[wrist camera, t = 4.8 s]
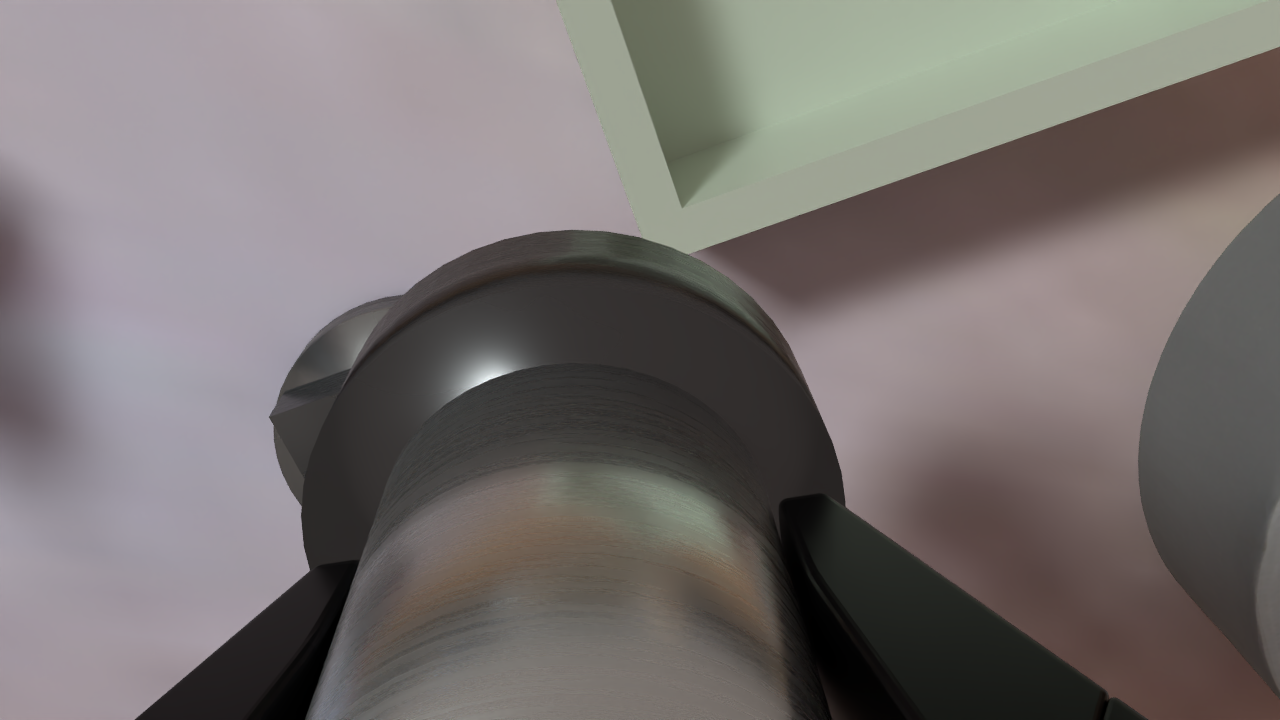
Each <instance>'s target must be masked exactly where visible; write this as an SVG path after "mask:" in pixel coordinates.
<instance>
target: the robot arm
mask: <svg viewBox="0 0 1280 720" xmlns="http://www.w3.org/2000/svg"><path fill="white" fill-rule="evenodd" d="M779 525H780V535H781V544H782V547H783V551H784V554H785V558H786V561H787V564H788V568H789V571H790V575H791V578H792V582H793V585H794V589H795V592H796V596H797V599H798V603H799V606H800V609H801V613H802V616H803V620H804V623H805V627H806V630H807V634H808V637H809V641H810V644H811V648H812V651H813V654H814V658H815V661H816V665H817V668H818V672H819V675H820V679H821V682H822V686H823V689H824V693H825V696H826V699H827V703H828V706H829V710H830V713H831V717H832V720H1148V719H1146V718H1145V717H1144V716H1142V715H1141V714H1139V713H1138V712H1137V711H1135V710H1134V709H1132V708H1131V707H1129V706H1128V705H1127V704H1125V703H1124V702H1122V701H1121V700H1119V699H1118V698H1114V697H1113V698H1110V699H1109V695H1108V692H1107V691H1106V690H1105V689H1103V688H1102V687H1100V686H1099V685H1097V684H1096V683H1095V682H1093V681H1092V680H1090V679H1089V678H1087V677H1086V676H1085V675H1083V674H1082V673H1080V672H1079V671H1078V670H1076V669H1075V668H1073V667H1072V666H1070V665H1069V664H1068V663H1066V662H1065V661H1063V660H1062V659H1060V658H1059V657H1058V656H1056V655H1055V654H1053V653H1052V652H1051V651H1049V650H1048V649H1046V648H1045V647H1043V646H1042V645H1041V644H1039V643H1038V642H1036V641H1035V640H1033V639H1032V638H1031V637H1029V636H1028V635H1026V634H1025V633H1024V632H1022V631H1021V630H1019V629H1018V628H1016V627H1015V626H1014V625H1012V624H1011V623H1009V622H1008V621H1006V620H1005V619H1004V618H1002V617H1001V616H999V615H998V614H997V613H995V612H994V611H992V610H991V609H989V608H988V607H987V606H985V605H984V604H982V603H981V602H979V601H978V600H977V599H975V598H974V597H972V596H971V595H969V594H968V593H967V592H965V591H964V590H962V589H961V588H960V587H958V586H957V585H955V584H954V583H952V582H951V581H950V580H948V579H947V578H945V577H944V576H942V575H941V574H940V573H938V572H937V571H935V570H934V569H933V568H931V567H930V566H928V565H927V564H925V563H924V562H923V561H921V560H920V559H918V558H917V557H915V556H914V555H913V554H911V553H910V552H908V551H907V550H906V549H904V548H903V547H901V546H900V545H898V544H897V543H896V542H894V541H893V540H891V539H890V538H888V537H887V536H886V535H884V534H883V533H881V532H880V531H878V530H877V529H876V528H874V527H873V526H871V525H870V524H869V523H867V522H866V521H864V520H863V519H861V518H860V517H859V516H857V515H856V514H854V513H853V512H851V511H850V510H849V509H847V508H846V507H844V506H843V505H842V504H840V503H839V502H837V501H836V500H834V499H833V498H832V497H830V496H828V495H826V494H823V493H818V494H811V495H804V496H797V497H791V498H785V499H783V500H782V501H781V502H780V504H779ZM359 562H360V560H350V561H342V562H335V563H328V564H321V565H319V566H316V567H315V568H313V569H312V570H311V571H309V572H308V573H307V574H306V575H305V576H304V577H302V578H301V579H300V580H299V581H298V582H296V583H295V584H294V585H293V586H292V587H291V588H289V589H288V590H287V591H286V592H285V593H283V594H282V595H281V596H280V597H279V598H278V599H276V600H275V601H274V602H273V603H272V604H271V605H269V606H268V607H267V608H266V609H265V610H263V611H262V612H261V613H260V614H259V615H258V616H256V617H255V618H254V619H253V620H252V621H250V622H249V623H248V624H247V625H246V626H245V627H243V628H242V629H241V630H240V631H239V632H238V633H236V634H235V635H234V636H233V637H232V638H230V639H229V640H228V641H227V642H226V643H225V644H223V645H222V646H221V647H220V648H219V649H218V650H216V651H215V652H214V653H213V654H212V655H210V656H209V657H208V658H207V659H206V660H205V661H203V662H202V663H201V664H200V665H199V666H197V667H196V668H195V669H194V670H193V671H192V672H190V673H189V674H188V675H187V676H186V677H185V678H183V679H182V680H181V681H180V682H179V683H177V684H176V685H175V686H174V687H173V688H172V689H170V690H169V691H168V692H167V693H166V694H164V695H163V696H162V697H161V698H160V699H159V700H157V701H156V702H155V703H154V704H153V705H151V706H150V707H149V708H148V709H147V710H146V711H144V712H143V713H142V714H141V715H140V716H138V717H137V718H136V719H135V720H305V718H306V715H307V713H308V710H309V707H310V704H311V701H312V698H313V695H314V692H315V689H316V687H317V684H318V681H319V678H320V675H321V672H322V669H323V666H324V663H325V660H326V658H327V655H328V652H329V649H330V646H331V643H332V640H333V637H334V634H335V632H336V629H337V626H338V623H339V620H340V617H341V614H342V611H343V608H344V605H345V603H346V600H347V597H348V594H349V591H350V588H351V585H352V582H353V579H354V577H355V574H356V571H357V568H358V565H359Z"/></svg>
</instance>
